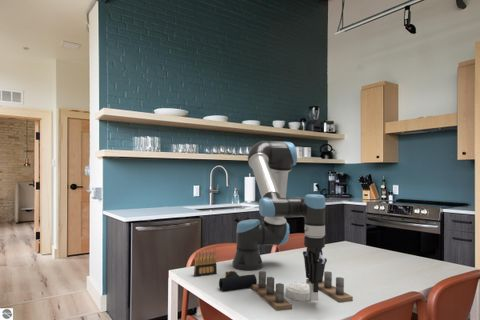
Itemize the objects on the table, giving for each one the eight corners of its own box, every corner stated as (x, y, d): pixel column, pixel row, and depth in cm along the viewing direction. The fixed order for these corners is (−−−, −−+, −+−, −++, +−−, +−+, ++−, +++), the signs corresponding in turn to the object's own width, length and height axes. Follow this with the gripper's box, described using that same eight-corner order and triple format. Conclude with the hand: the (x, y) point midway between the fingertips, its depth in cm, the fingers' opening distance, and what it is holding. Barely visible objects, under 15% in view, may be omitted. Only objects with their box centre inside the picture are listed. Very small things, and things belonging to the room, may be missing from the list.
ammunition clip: (195, 277, 157) (195, 250, 158) (193, 275, 159) (194, 249, 159) (216, 274, 162) (217, 248, 162) (215, 273, 164) (215, 247, 164)
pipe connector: (213, 271, 149) (245, 268, 155) (213, 284, 149) (244, 280, 155) (223, 280, 138) (256, 276, 145) (223, 293, 138) (256, 288, 145)
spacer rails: (251, 288, 144) (251, 270, 144) (318, 281, 154) (318, 264, 154) (276, 310, 121) (277, 289, 121) (352, 300, 132) (352, 280, 132)
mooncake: (295, 288, 145) (295, 279, 145) (322, 295, 137) (322, 286, 138) (280, 296, 136) (280, 286, 136) (307, 304, 128) (307, 294, 128)
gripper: (297, 233, 134) (296, 294, 133) (315, 240, 121) (314, 307, 121) (313, 232, 136) (313, 292, 135) (333, 239, 124) (332, 305, 123)
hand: (313, 299), depth 128 cm, fingers closed
